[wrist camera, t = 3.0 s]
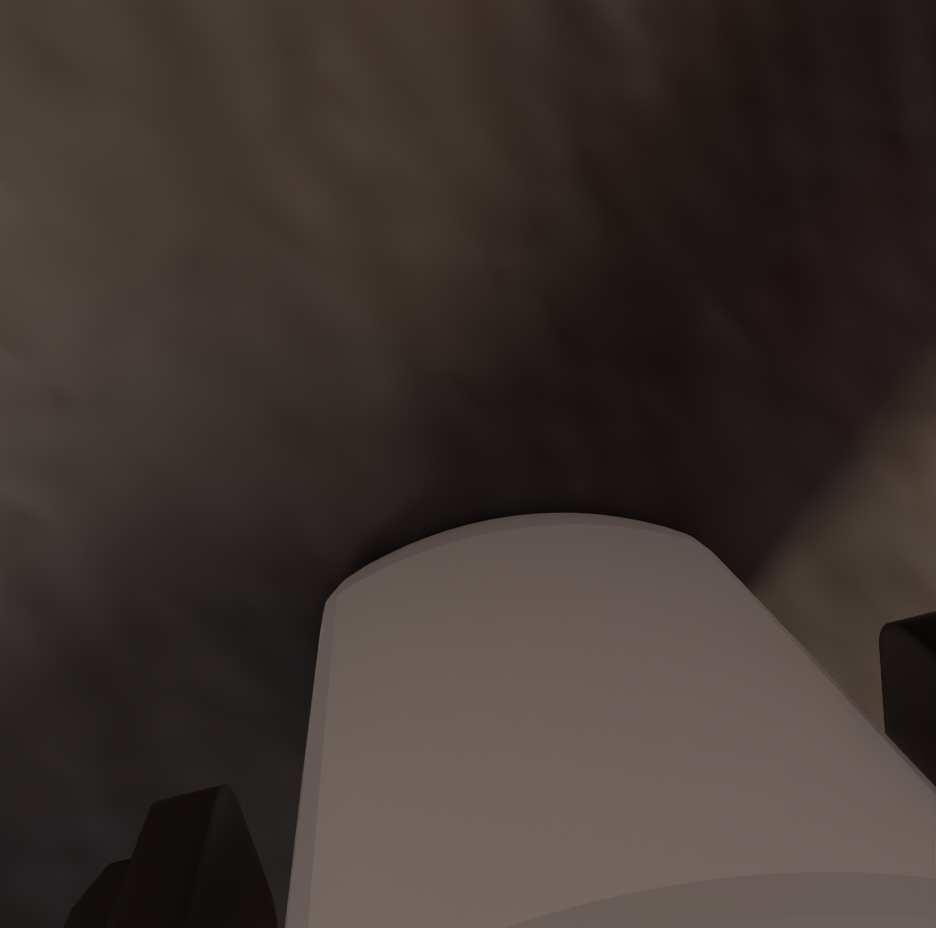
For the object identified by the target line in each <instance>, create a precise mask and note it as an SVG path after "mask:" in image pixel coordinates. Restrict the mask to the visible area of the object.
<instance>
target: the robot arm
mask: <svg viewBox="0 0 936 928" xmlns="http://www.w3.org/2000/svg"><path fill="white" fill-rule="evenodd" d="M879 650H880V664H881V679H882V694H883V709H884V723H885V734H886V735H887V736H888V737H889V738H890V739H891V740H892V741H893V742H894V743H895V744H896V745H897V747H898V748H899V749H900V750H901V751H902V752H903V753H904V754H905V755H906V756H907V757H908V758H909V759H910V760H911V761H912V762H913V764H914V765H915V766H916V767H917V768H918V769H919V770H920V771H921V772H922V773H923V774H924V775H925V776H926V777H927V778H928V779H929V780H930V782H931V783H932V784H933V785H934V786H935V787H936V611H935V612H931V613H927V614H923V615H919V616H915V617H910V618H906V619H902V620H898V621H894V622H890V623H887V624H885V625H884V626H883V628H882V629H881V632H880V637H879ZM64 928H278V926H277V918H276V911H275V906H274V902H273V898H272V894H271V891H270V888H269V886H268V883H267V880H266V877H265V874H264V872H263V869H262V866H261V863H260V861H259V858H258V855H257V852H256V849H255V847H254V844H253V841H252V838H251V836H250V833H249V830H248V827H247V824H246V822H245V819H244V816H243V813H242V811H241V808H240V805H239V802H238V800H237V797H236V795H235V793H234V791H233V790H232V789H231V787H229V786H228V785H226V784H223V785H219V786H215V787H211V788H207V789H203V790H199V791H195V792H191V793H187V794H182V795H178V796H174V797H170V798H166V799H162V800H158V801H156V802H155V803H153V805H152V806H151V808H150V810H149V812H148V815H147V817H146V820H145V823H144V825H143V828H142V831H141V833H140V836H139V839H138V842H137V844H136V847H135V850H134V852H133V855H132V858H131V859H127V860H123V861H119V862H115V863H111V864H109V865H108V866H107V867H106V868H105V869H104V871H103V872H102V873H101V874H100V875H99V877H98V878H97V879H96V880H95V881H94V883H93V884H92V885H91V886H90V888H89V889H88V890H87V891H86V892H85V894H84V895H83V896H82V897H81V898H80V900H79V901H78V902H77V903H76V904H75V906H74V907H73V908H72V910H71V912H70V914H69V917H68V919H67V921H66V924H65V926H64Z"/></svg>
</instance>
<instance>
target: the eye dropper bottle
mask: <svg viewBox="0 0 936 928" xmlns="http://www.w3.org/2000/svg"><path fill="white" fill-rule="evenodd" d="M285 928H936V787H935V786H934V785H933V784H932V783H931V782H930V780H929V779H928V778H927V777H926V776H925V775H924V774H923V773H922V772H921V771H920V770H919V769H918V768H917V767H916V766H915V765H914V764H913V762H912V761H911V760H910V759H909V758H908V757H907V756H906V755H905V754H904V753H903V752H902V751H901V750H900V749H899V748H898V747H897V745H896V744H895V743H894V742H893V741H892V740H891V739H890V738H889V737H888V736H887V735H886V734H885V733H884V732H883V731H882V730H881V729H880V727H879V726H878V725H877V724H876V723H875V722H874V721H873V720H872V719H871V718H870V717H869V716H868V715H867V714H866V713H865V712H864V710H863V709H862V708H861V707H860V706H859V705H858V704H857V703H856V702H855V701H854V700H853V699H852V698H851V697H850V696H849V695H848V694H847V692H846V691H845V690H844V689H843V688H842V687H841V686H840V685H839V684H838V683H837V682H836V681H835V680H834V679H833V678H832V677H831V675H830V674H829V673H828V672H827V671H826V670H825V669H824V668H823V667H822V666H821V665H820V664H819V663H818V662H817V661H816V660H815V659H814V658H813V657H812V656H811V654H810V653H809V652H808V651H807V650H806V649H805V648H804V647H803V646H802V645H801V644H800V643H799V642H798V641H797V640H796V639H795V638H794V637H793V636H792V635H791V634H790V632H789V631H788V630H787V629H786V628H785V627H784V626H783V625H782V624H781V623H780V622H779V621H778V620H777V619H776V618H775V617H774V616H773V615H772V614H771V613H770V612H769V610H768V609H767V608H766V607H765V606H764V605H763V604H762V603H761V602H760V601H759V600H758V599H757V598H756V597H755V596H754V595H753V594H752V593H751V592H750V591H749V589H748V588H747V587H746V586H745V585H744V584H743V583H742V582H741V581H740V580H739V579H738V578H737V577H736V576H735V575H734V574H733V573H732V572H731V571H730V570H729V569H728V568H727V567H726V566H725V564H724V563H723V562H722V561H721V560H720V559H719V558H718V557H717V556H716V555H715V554H714V553H713V552H711V551H710V550H709V549H708V548H707V547H705V546H704V545H703V544H701V543H700V542H699V541H697V540H696V539H695V538H693V537H691V536H689V535H687V534H685V533H682V532H679V531H676V530H673V529H670V528H667V527H664V526H660V525H656V524H652V523H647V522H643V521H639V520H633V519H628V518H622V517H616V516H608V515H599V514H585V513H539V514H527V515H517V516H509V517H503V518H497V519H491V520H486V521H482V522H477V523H473V524H469V525H465V526H461V527H458V528H454V529H450V530H447V531H444V532H441V533H438V534H435V535H432V536H429V537H427V538H424V539H422V540H419V541H417V542H414V543H412V544H409V545H407V546H405V547H402V548H400V549H398V550H396V551H394V552H392V553H389V554H387V555H385V556H383V557H381V558H380V559H378V560H376V561H374V562H372V563H370V564H368V565H366V566H365V567H363V568H362V569H360V570H359V571H357V572H356V573H354V574H352V575H351V576H349V577H348V578H346V579H345V580H344V581H343V582H342V583H341V584H340V585H339V586H338V588H337V589H336V590H335V591H334V592H333V593H332V595H331V596H330V597H329V598H328V600H327V601H326V603H325V608H324V613H323V619H322V624H321V631H320V638H319V646H318V654H317V662H316V670H315V678H314V686H313V694H312V702H311V710H310V718H309V727H308V735H307V743H306V751H305V759H304V767H303V775H302V784H301V792H300V801H299V809H298V818H297V826H296V835H295V843H294V852H293V860H292V869H291V877H290V886H289V894H288V903H287V911H286V920H285Z"/></svg>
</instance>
